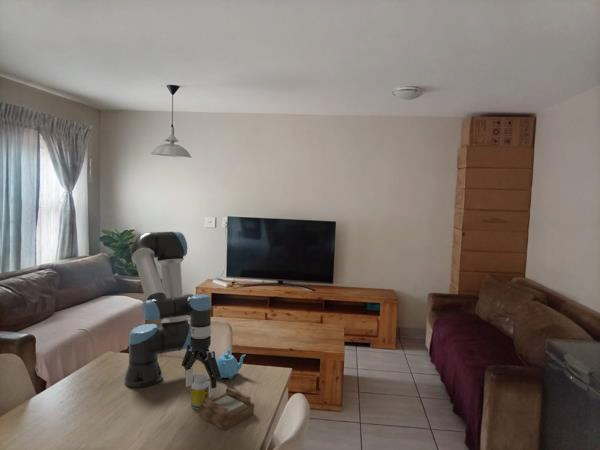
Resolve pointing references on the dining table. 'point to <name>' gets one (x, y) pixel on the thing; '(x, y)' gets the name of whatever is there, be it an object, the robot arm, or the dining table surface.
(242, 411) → the wooden tray
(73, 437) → the dining table surface
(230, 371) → the teapot
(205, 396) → the pill bottle
